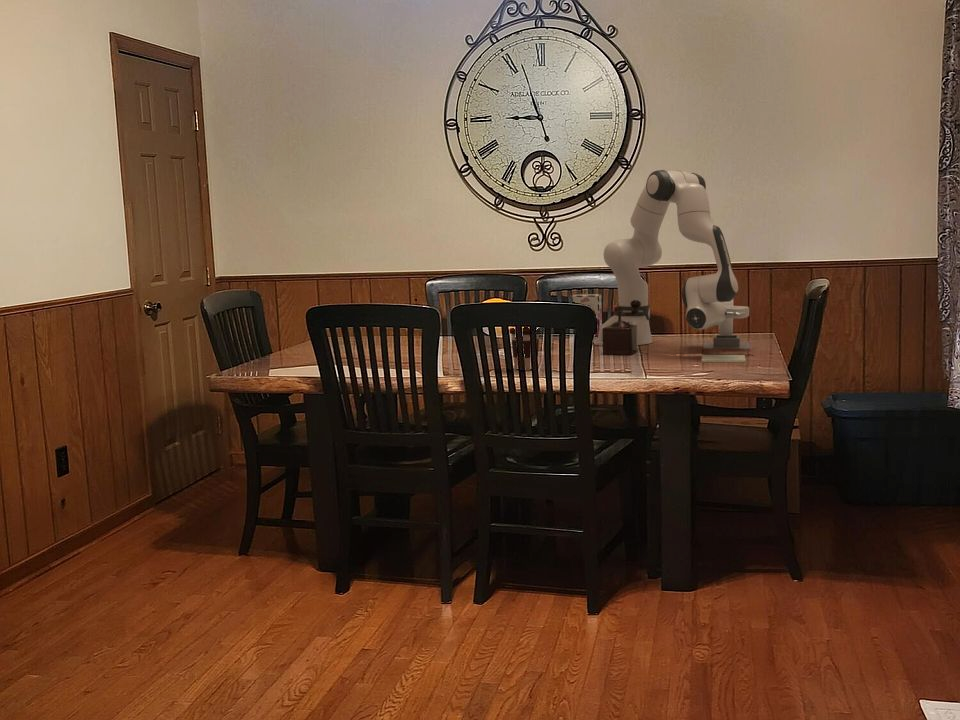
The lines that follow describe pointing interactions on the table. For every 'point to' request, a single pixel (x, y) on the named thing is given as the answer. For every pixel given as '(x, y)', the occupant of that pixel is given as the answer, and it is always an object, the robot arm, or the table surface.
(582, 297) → the candy bar box
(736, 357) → the pad
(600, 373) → the table surface
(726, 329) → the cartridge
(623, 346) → the pepper mill
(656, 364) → the table surface
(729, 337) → the housing
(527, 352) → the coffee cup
